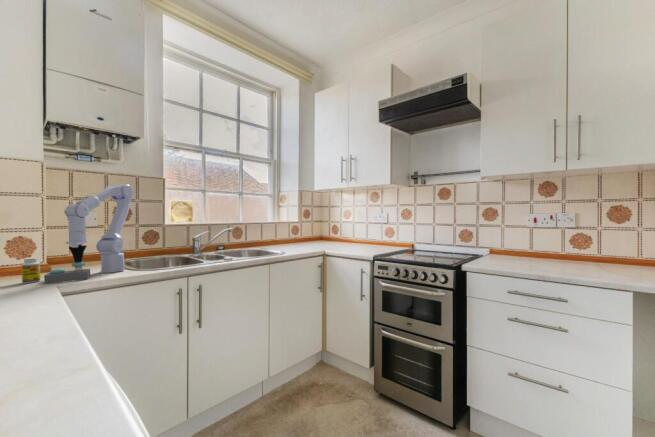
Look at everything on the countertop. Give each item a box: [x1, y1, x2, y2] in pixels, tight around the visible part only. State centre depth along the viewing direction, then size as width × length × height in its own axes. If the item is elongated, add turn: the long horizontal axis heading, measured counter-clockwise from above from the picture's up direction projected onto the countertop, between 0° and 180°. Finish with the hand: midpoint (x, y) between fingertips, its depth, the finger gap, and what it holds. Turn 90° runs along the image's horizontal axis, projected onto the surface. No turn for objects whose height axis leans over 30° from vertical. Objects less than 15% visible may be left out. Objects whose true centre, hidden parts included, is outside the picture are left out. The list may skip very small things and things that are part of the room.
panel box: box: [43, 268, 91, 284], centre depth 131 cm, size 14×8×3 cm, turn 122°
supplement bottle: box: [21, 256, 41, 284], centre depth 127 cm, size 6×6×10 cm
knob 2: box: [71, 261, 86, 272], centre depth 133 cm, size 5×5×4 cm
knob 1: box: [50, 268, 66, 274], centre depth 129 cm, size 5×5×4 cm
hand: (78, 262), depth 133 cm, fingers closed
